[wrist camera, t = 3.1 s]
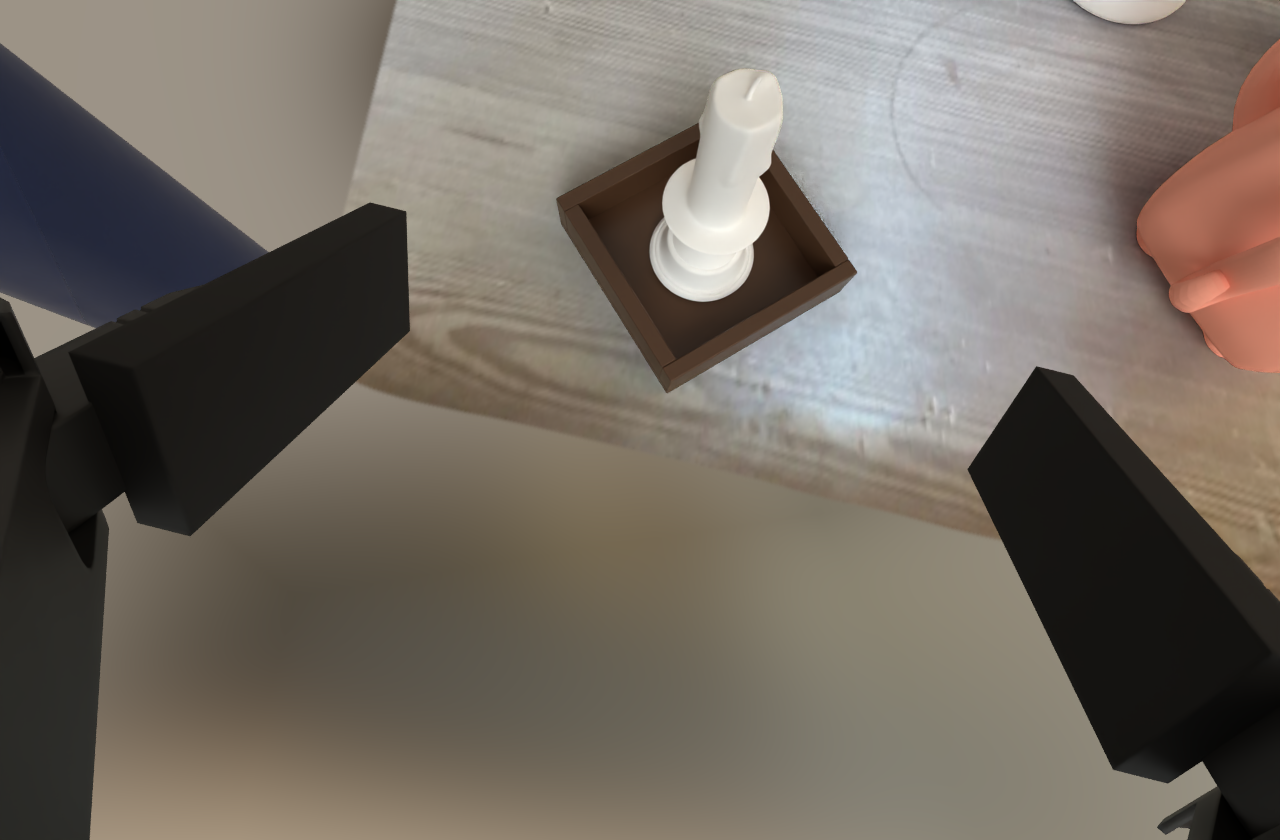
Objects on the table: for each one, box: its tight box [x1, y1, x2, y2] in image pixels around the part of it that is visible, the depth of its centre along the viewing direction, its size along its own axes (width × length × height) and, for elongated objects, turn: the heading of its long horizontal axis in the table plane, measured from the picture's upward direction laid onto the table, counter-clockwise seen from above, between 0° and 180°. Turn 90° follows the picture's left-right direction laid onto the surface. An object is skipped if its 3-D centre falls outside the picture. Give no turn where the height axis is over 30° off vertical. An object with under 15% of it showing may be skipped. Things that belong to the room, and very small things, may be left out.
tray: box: [557, 123, 857, 393], centre depth 30 cm, size 11×11×2 cm
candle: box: [649, 68, 783, 302], centre depth 25 cm, size 5×5×12 cm
